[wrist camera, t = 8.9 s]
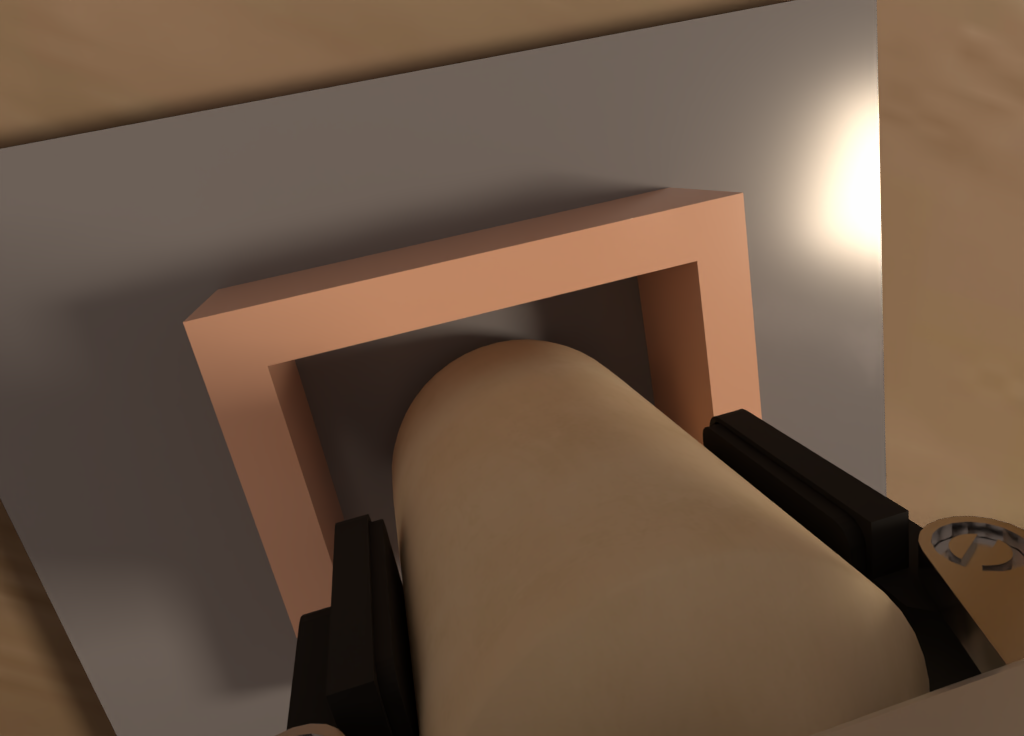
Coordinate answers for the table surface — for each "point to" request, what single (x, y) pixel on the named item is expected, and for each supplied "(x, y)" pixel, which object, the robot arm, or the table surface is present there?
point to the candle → (616, 571)
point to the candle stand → (409, 311)
